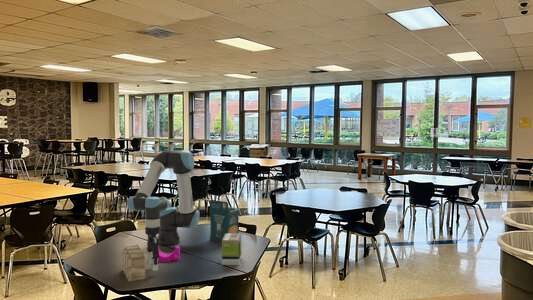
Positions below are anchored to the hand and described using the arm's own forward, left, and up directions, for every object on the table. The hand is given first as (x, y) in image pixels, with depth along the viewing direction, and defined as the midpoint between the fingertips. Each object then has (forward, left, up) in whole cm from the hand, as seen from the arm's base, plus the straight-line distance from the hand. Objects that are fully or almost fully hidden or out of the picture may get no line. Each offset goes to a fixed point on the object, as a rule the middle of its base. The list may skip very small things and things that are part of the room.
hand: (152, 267), depth 215 cm
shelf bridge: (0, -8, -2) cm, 9 cm away
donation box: (-42, +59, -3) cm, 73 cm away
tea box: (+3, +44, -3) cm, 45 cm away
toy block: (-16, +11, -3) cm, 20 cm away
